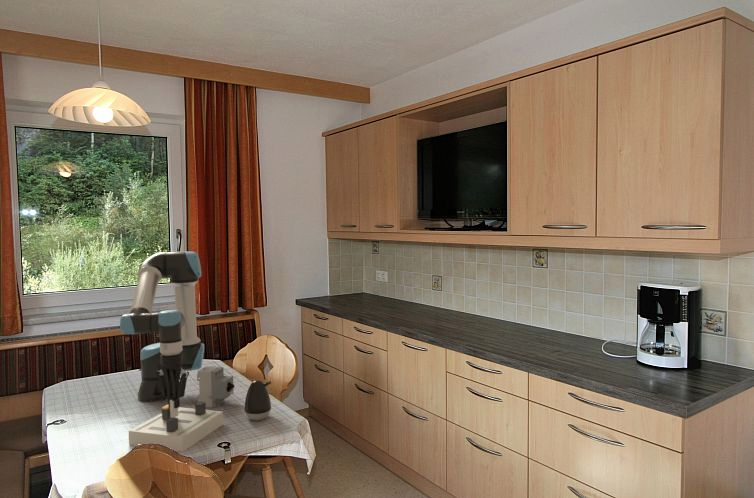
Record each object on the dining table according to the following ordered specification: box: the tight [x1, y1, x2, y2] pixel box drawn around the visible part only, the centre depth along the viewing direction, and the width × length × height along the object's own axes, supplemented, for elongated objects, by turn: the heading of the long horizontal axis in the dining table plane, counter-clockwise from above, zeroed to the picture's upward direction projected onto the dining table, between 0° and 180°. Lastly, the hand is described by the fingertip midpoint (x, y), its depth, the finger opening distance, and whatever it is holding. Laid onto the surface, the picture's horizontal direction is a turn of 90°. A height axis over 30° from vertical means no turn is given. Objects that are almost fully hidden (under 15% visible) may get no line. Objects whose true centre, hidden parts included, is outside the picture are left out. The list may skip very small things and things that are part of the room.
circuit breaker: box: [196, 365, 235, 408], centre depth 217 cm, size 8×14×15 cm, turn 78°
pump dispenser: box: [244, 379, 272, 422], centre depth 200 cm, size 10×10×15 cm
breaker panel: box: [128, 402, 224, 453], centre depth 186 cm, size 22×24×9 cm
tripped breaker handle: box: [161, 404, 171, 420], centre depth 187 cm, size 2×3×5 cm
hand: (174, 416), depth 187 cm, fingers closed
